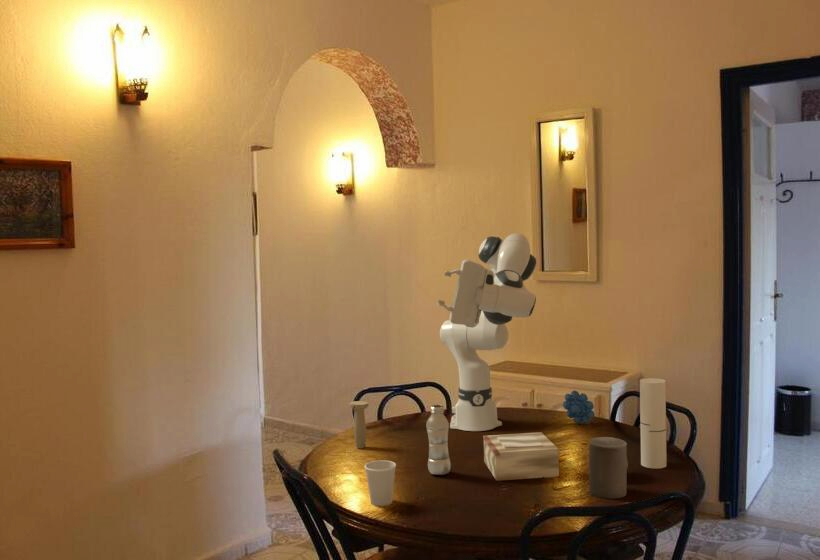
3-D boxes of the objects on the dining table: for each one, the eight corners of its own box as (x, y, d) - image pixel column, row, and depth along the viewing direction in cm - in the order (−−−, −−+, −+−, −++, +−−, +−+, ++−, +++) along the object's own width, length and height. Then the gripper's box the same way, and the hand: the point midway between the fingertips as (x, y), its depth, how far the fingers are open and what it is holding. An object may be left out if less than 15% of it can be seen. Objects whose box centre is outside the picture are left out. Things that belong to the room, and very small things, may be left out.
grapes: (559, 425, 270) (558, 391, 270) (565, 420, 276) (564, 388, 275) (590, 428, 264) (590, 394, 264) (596, 423, 270) (596, 390, 269)
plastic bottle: (449, 477, 217) (447, 409, 215) (426, 477, 218) (423, 408, 217) (452, 470, 223) (450, 403, 222) (429, 470, 224) (427, 403, 223)
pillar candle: (586, 496, 198) (586, 440, 197) (591, 484, 207) (591, 430, 206) (625, 500, 194) (625, 443, 193) (628, 488, 203) (628, 433, 202)
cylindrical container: (648, 459, 227) (647, 377, 226) (670, 464, 222) (669, 380, 221) (636, 465, 222) (635, 381, 221) (659, 470, 217) (658, 384, 216)
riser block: (483, 461, 231) (483, 434, 230) (541, 457, 232) (541, 431, 232) (496, 480, 213) (495, 451, 212) (558, 476, 214) (558, 447, 214)
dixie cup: (361, 499, 201) (360, 462, 201) (391, 494, 204) (389, 458, 204) (371, 510, 193) (370, 471, 193) (402, 504, 197) (400, 466, 196)
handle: (363, 450, 246) (361, 405, 245) (348, 448, 250) (346, 403, 249) (372, 447, 250) (371, 402, 249) (357, 444, 254) (356, 400, 253)
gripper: (475, 326, 240) (433, 318, 238) (490, 263, 237) (447, 254, 236) (479, 330, 234) (435, 322, 232) (494, 266, 231) (450, 257, 229)
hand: (441, 287), depth 234 cm, fingers open, 8 cm apart
